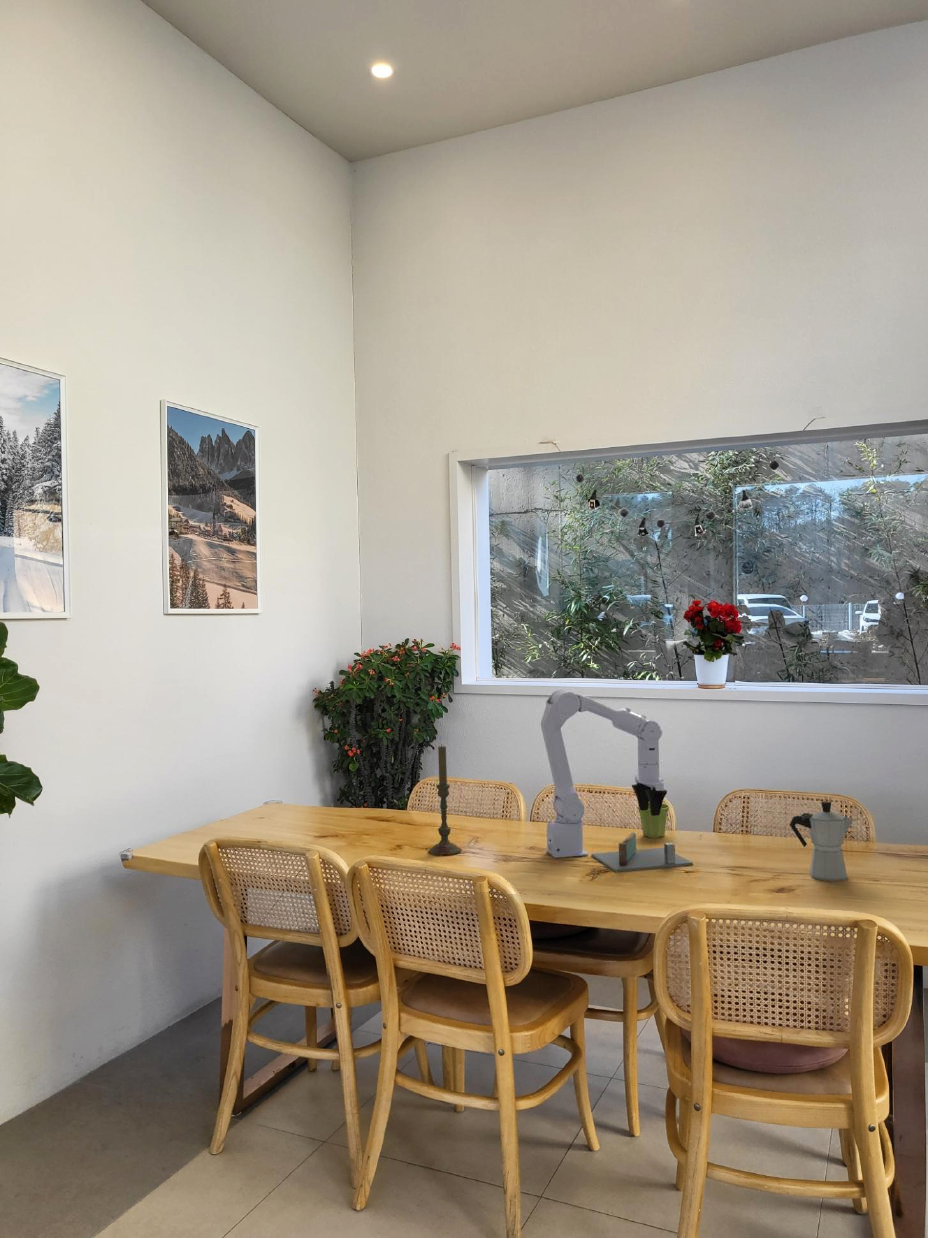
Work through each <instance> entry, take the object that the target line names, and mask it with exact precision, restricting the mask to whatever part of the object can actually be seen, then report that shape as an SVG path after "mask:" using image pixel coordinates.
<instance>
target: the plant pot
mask: <svg viewBox="0 0 928 1238" xmlns="http://www.w3.org/2000/svg"><path fill="white" fill-rule="evenodd" d="M636 809H637V810H638V814H639V817H640V822H641V829H642V835H643V837H648V838H650V839H651V838H655V839H657V838H660V837H664V836H665V834H666V825H667V816H668V813H669V809H670V805H669V804H667V803H663V802H662V806H661V810H660V815H657V816H652V815H651V811H650V804H649V806H648V810H640V808H639V804H637V805H636Z"/></svg>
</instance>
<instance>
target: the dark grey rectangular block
mask: <svg viewBox="0 0 928 1238" xmlns="http://www.w3.org/2000/svg"><path fill="white" fill-rule="evenodd" d="M663 844H664V845H663V848H664V856H665V863H667V864H675V854H676V844H675V843H673V842H664V843H663Z"/></svg>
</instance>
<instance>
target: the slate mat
mask: <svg viewBox="0 0 928 1238" xmlns="http://www.w3.org/2000/svg"><path fill="white" fill-rule="evenodd" d="M591 857H592V858H594V859H595V860H597V861H599V863H601V864H602V865H604V866H605V867H606V868H609V869H610V870H612V871H613V872H615V873H619V872H628V871H629V872H631V871H632V872H633V871H640V870H642V871H643V870H652V869H653V870H655V869H661V868H664V869H665V868H673V867H675V868H676V867H685V866H686V867H688V866H693V864H694V863H693V862H692V861H690V860H688V859H686V858H685V857H683V856H681V855H679V854H678V853H675V864H667V863H665V856H664V847H656V848H655V847H653V848H644V849H636V852H635V853H634V854H633V856H632V857H631V858H630V859H629V860H628V861H627V866H620V865H619V850H618V851H610V852H609V851H608V852H607V851H606V852H597V853H591Z"/></svg>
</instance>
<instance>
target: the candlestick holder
mask: <svg viewBox="0 0 928 1238" xmlns="http://www.w3.org/2000/svg"><path fill="white" fill-rule="evenodd" d="M437 751H438V784H436V789H437V790H438V791H437V796H438V797H439V798H440V801H439V802H440V803H439V808H440V812H441V813H440V816H441V817H440V818H441V825H440V827H439V828H438V829H437V831H438V834H439V836H440V839H441V840H440V841H439V842H438V843H435V845H433V846H432V847H430V848H429V849H428V853H429V854H430V855H432V856H437V857H448V856H455V855H459V854H461V852H462V848H461V847H459V846H457V844H455V843H452V842H451V840H449V836H450V834H451V827H449V825H448V822H447V820H448V819H447V817H448V814H447V809H448V803H447V802H448V801H447V797H449V795H450V791H449V788H450V787H451V786H450V784H448V780H447V779H448V773H447V767H448V766H447V746H446V745H443V744H442V743H441V744H440V746H438V747H437Z"/></svg>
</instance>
